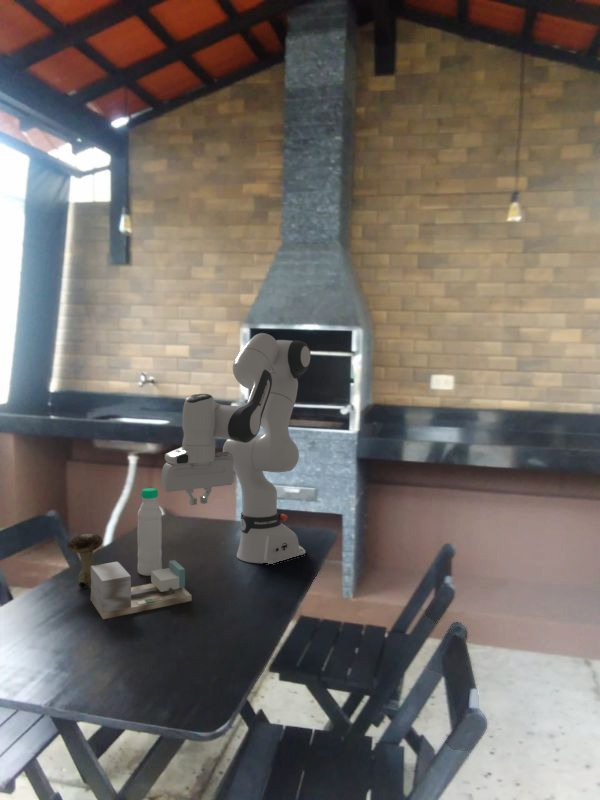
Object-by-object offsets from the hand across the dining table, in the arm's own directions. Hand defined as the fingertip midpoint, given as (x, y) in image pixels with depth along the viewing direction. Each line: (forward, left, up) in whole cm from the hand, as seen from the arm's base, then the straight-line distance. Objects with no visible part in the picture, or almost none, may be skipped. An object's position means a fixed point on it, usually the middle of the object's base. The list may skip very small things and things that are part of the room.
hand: (198, 503), depth 171 cm
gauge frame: (+16, 0, -24) cm, 29 cm away
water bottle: (+8, -19, -24) cm, 32 cm away
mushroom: (+27, -16, -24) cm, 39 cm away
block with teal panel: (+9, +1, -21) cm, 23 cm away
